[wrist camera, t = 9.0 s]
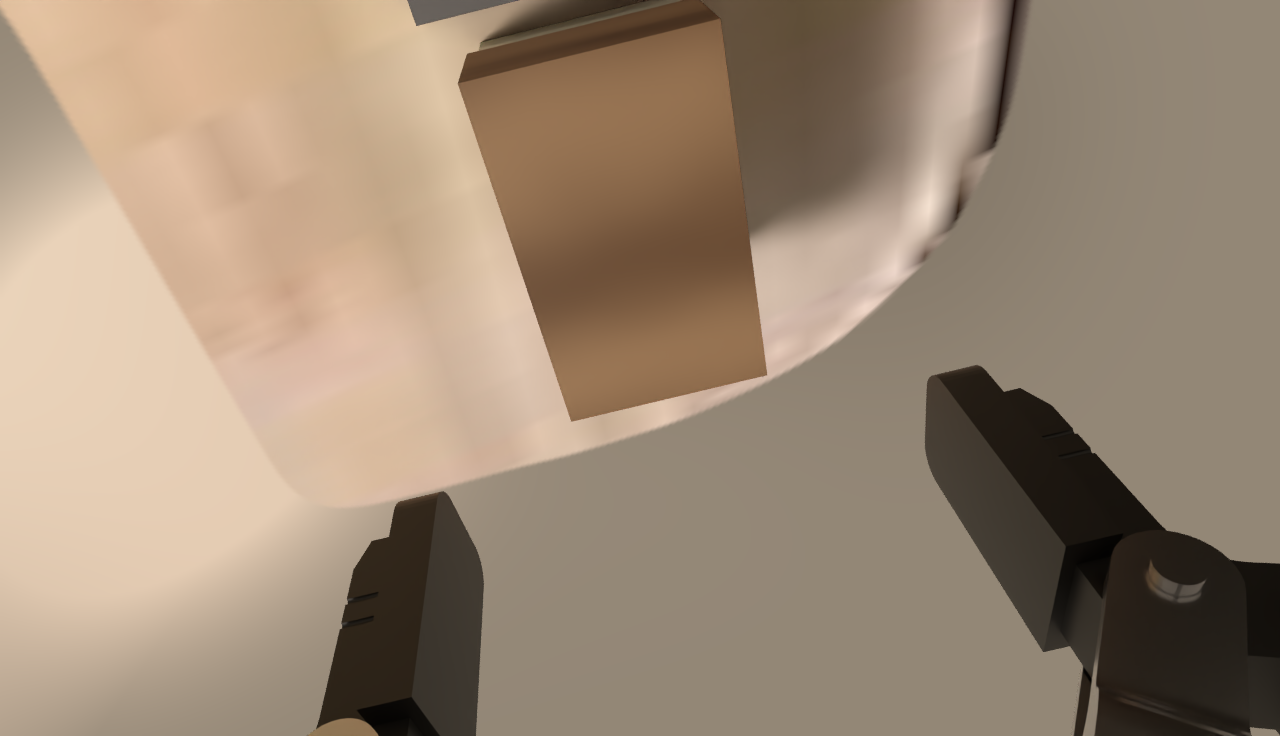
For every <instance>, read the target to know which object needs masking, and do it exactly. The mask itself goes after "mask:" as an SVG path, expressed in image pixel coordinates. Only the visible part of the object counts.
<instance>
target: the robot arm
mask: <svg viewBox="0 0 1280 736" xmlns="http://www.w3.org/2000/svg"><path fill="white" fill-rule="evenodd" d="M925 428H926V429H925V450H926V456H927V460H928V464H929V466H930V469H931V472H932V474H933V476H934V478H935V480H936V482H937V484H938V485H939V487H940V488H941V490H942V492H943V493H944V495H945V497H946V498H947V500H948V501H949V503H950V504H951V506H952V508H953V509H954V510H955V512H956V514H957V516H958V517H959V519H960V520H961V522H962V523H963V525H964V527H965V528H966V530H967V531H968V533H969V535H970V536H971V538H972V539H973V541H974V543H975V544H976V546H977V547H978V549H979V551H980V552H981V554H982V555H983V557H984V559H985V560H986V562H987V563H988V565H989V566H990V568H991V569H992V571H993V573H994V574H995V576H996V578H997V579H998V581H999V582H1000V584H1001V586H1002V587H1003V589H1004V590H1005V592H1006V593H1007V595H1008V597H1009V598H1010V599H1011V601H1012V603H1013V604H1014V606H1015V608H1016V609H1017V611H1018V613H1019V614H1020V616H1021V617H1022V619H1023V620H1024V622H1025V623H1026V625H1027V627H1028V628H1029V630H1030V632H1031V633H1032V635H1033V636H1034V638H1035V640H1036V641H1037V643H1038V644H1039V646H1040V648H1041V649H1042V651H1043V652H1046V651H1050V650H1055V649H1059V648H1063V647H1067V646H1070V647H1071V648H1072V650H1073V651H1074V652H1075V654H1076V656H1077V657H1078V659H1079V660H1080V662H1081V663H1082V667H1081V671H1080V676H1079V683H1078V690H1077V697H1076V704H1075V711H1074V718H1073V725H1072V732H1071V736H1252V735H1251V731H1250V727H1254V728H1265V729H1275V730H1276V731H1277V732H1278V733H1279V734H1280V564H1275V563H1253V562H1241V561H1234V560H1230V559H1229V558H1227V557H1226V556H1225V555H1224V554H1223V553H1222V552H1220V551H1219V550H1217V549H1216V548H1214V547H1213V546H1211V545H1209V544H1207V543H1205V542H1203V541H1201V540H1199V539H1197V538H1194V537H1191V536H1188V535H1185V534H1181V533H1178V532H1171V531H1167V530H1165V529H1164V528H1163V527H1162V526H1161V525H1160V524H1159V523H1158V522H1157V520H1156V519H1155V518H1154V517H1153V516H1152V515H1151V514H1150V513H1149V512H1148V511H1147V509H1145V507H1144V506H1143V505H1142V504H1141V503H1140V502H1139V501H1138V500H1137V498H1136V497H1135V496H1134V495H1133V494H1132V493H1131V492H1130V491H1129V490H1128V489H1127V488H1126V486H1125V485H1124V484H1123V483H1122V482H1121V481H1120V480H1119V479H1118V478H1117V477H1116V476H1115V474H1114V473H1113V472H1112V471H1111V470H1110V469H1109V468H1108V467H1107V466H1106V464H1105V463H1104V462H1103V461H1102V460H1101V459H1100V458H1099V457H1098V456H1097V455H1096V454H1095V453H1092V452H1091V449H1090V447H1089V446H1088V445H1087V444H1086V443H1085V442H1084V440H1083V439H1082V438H1081V437H1080V436H1079V435H1078V434H1074V432H1073V428H1072V427H1071V426H1070V425H1069V424H1068V423H1067V422H1066V421H1065V419H1063V417H1062V416H1061V415H1060V414H1059V413H1058V412H1057V411H1056V410H1055V409H1054V407H1053V406H1051V405H1050V404H1048V403H1046V402H1045V401H1043V400H1041V399H1039V398H1037V397H1035V396H1034V395H1032V394H1030V393H1028V392H1026V391H1024V390H1023V389H1021V388H1018V389H1014V390H1010V391H1006V392H1003V390H1002V389H1001V388H1000V387H999V386H998V385H997V383H996V382H995V381H994V380H993V379H992V377H991V376H990V375H989V374H988V373H987V372H986V370H984V369H983V368H982V367H981V366H978V365H975V366H970V367H966V368H962V369H958V370H954V371H950V372H945V373H941V374H937V375H933V376H931V377H930V378H929V379H928V383H927V399H926V427H925ZM483 582H484V581H483V572H482V566H481V562H480V558H479V555H478V552H477V550H476V547H475V546H474V544H473V542H472V540H471V538H470V536H469V534H468V532H467V530H466V528H465V526H464V524H463V522H462V521H461V519H460V517H459V515H458V513H457V511H456V509H455V507H454V505H453V503H452V501H451V499H450V497H449V496H448V495H447V494H446V493H445V492H438V493H434V494H429V495H425V496H421V497H417V498H413V499H409V500H404V501H400V502H398V503H397V504H396V506H395V509H394V514H393V519H392V524H391V530H390V535H389V537H387V538H383V539H379V540H374V541H372V542H371V543H370V545H369V547H368V548H367V550H366V551H365V553H364V554H363V556H362V557H361V559H360V561H359V562H358V564H357V565H356V567H355V568H354V570H353V575H352V579H351V583H350V588H349V593H348V596H347V600H348V604H347V605H345V610H344V614H343V618H342V629H340V632H339V636H338V640H337V645H336V649H335V653H334V657H333V662H332V666H331V671H330V675H329V679H328V684H327V688H326V692H325V697H324V701H323V705H322V710H321V714H320V718H319V722H318V725H317V728H316V730H314V731H313V732H311V733H310V734H309V735H307V736H476V722H477V703H478V683H479V664H480V646H481V628H482V608H483V589H484V583H483Z"/></svg>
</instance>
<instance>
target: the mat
mask: <svg viewBox="0 0 1280 736" xmlns="http://www.w3.org/2000/svg"><path fill="white" fill-rule="evenodd" d="M407 1H408V3H409V6H410V9H411V12H412V15H413V18H414V20H415V23H416V26H418V25H422V24H426V23H430V22H434V21H438V20H442V19H446V18H450V17H454V16H458V15H462V14H466V13H470V12H474V11H478V10H482V9H486V8H490V7H494V6H498V5H502V4H506V3H510V2H514V1H518V0H407Z"/></svg>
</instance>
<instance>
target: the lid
mask: <svg viewBox="0 0 1280 736" xmlns="http://www.w3.org/2000/svg"><path fill="white" fill-rule="evenodd" d="M458 85H459V88H460V91H461V94H462V97H463V100H464V103H465V106H466V109H467V112H468V115H469V118H470V121H471V124H472V127H473V130H474V133H475V136H476V139H477V142H478V145H479V148H480V151H481V154H482V157H483V160H484V163H485V166H486V169H487V172H488V175H489V178H490V181H491V184H492V187H493V190H494V193H495V196H496V199H497V202H498V205H499V208H500V210H501V213H502V216H503V219H504V222H505V225H506V228H507V231H508V234H509V237H510V240H511V243H512V246H513V249H514V252H515V255H516V258H517V261H518V264H519V267H520V270H521V273H522V276H523V279H524V282H525V285H526V288H527V291H528V294H529V297H530V300H531V303H532V306H533V309H534V312H535V315H536V318H537V321H538V324H539V327H540V330H541V333H542V335H543V338H544V341H545V344H546V347H547V350H548V353H549V356H550V359H551V362H552V365H553V368H554V371H555V374H556V377H557V380H558V383H559V386H560V389H561V392H562V395H563V398H564V401H565V404H566V407H567V410H568V413H569V416H570V419H571V422H572V421H576V420H580V419H585V418H589V417H593V416H597V415H601V414H606V413H610V412H614V411H618V410H622V409H627V408H631V407H635V406H639V405H643V404H648V403H652V402H656V401H660V400H664V399H669V398H673V397H677V396H681V395H685V394H690V393H694V392H698V391H702V390H706V389H711V388H715V387H719V386H723V385H727V384H732V383H736V382H740V381H744V380H748V379H753V378H757V377H761V376H765V375H767V370H766V362H765V355H764V347H763V339H762V332H761V324H760V316H759V309H758V301H757V294H756V286H755V278H754V271H753V263H752V255H751V248H750V240H749V232H748V225H747V217H746V210H745V202H744V194H743V187H742V179H741V171H740V164H739V156H738V148H737V141H736V133H735V126H734V118H733V110H732V103H731V95H730V87H729V80H728V72H727V64H726V57H725V49H724V42H723V34H722V26H721V19H720V18H719V17H718V16H717V15H716V14H715V13H714V12H712V11H711V10H710V9H709V8H708V7H707V6H706V5H704V4H703V3H702V2H701V1H700V0H682V1H678V2H674V3H670V4H666V5H662V6H658V7H654V8H650V9H646V10H642V11H638V12H634V13H630V14H626V15H622V16H618V17H614V18H610V19H606V20H602V21H598V22H594V23H590V24H586V25H582V26H578V27H574V28H570V29H566V30H561V31H557V32H553V33H549V34H545V35H541V36H537V37H533V38H529V39H525V40H521V41H517V42H513V43H509V44H505V45H501V46H497V47H493V48H489V49H485V50H481V51H477V52H473V53H469V54H467V56H466V59H465V62H464V66H463V69H462V72H461V75H460V78H459V82H458Z"/></svg>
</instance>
